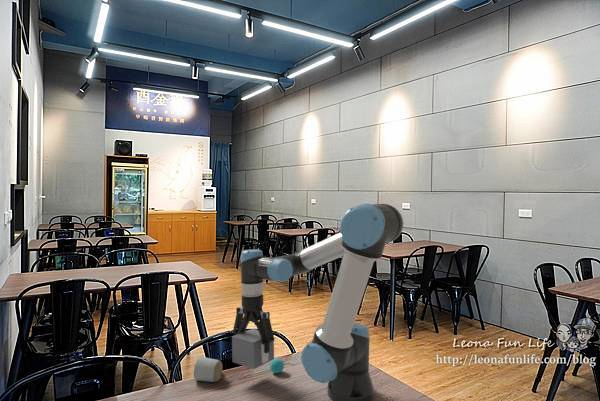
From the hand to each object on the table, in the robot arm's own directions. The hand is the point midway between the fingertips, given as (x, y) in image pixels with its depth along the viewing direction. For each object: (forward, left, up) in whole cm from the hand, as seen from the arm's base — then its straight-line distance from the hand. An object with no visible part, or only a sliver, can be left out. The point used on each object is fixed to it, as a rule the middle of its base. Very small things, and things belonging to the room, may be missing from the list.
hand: (253, 358), depth 139 cm
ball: (-2, -10, -5) cm, 12 cm away
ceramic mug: (+14, +8, -8) cm, 18 cm away
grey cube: (0, 0, -1) cm, 1 cm away
